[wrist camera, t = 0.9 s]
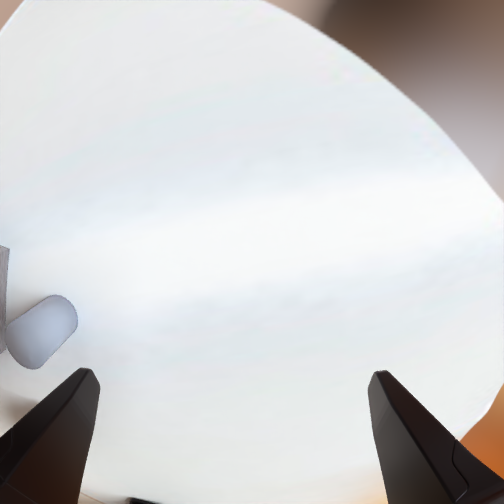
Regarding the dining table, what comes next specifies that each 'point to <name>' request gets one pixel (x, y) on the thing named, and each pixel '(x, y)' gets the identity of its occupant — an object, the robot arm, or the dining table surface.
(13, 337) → the round dowel
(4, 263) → the socket block
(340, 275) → the dining table surface
